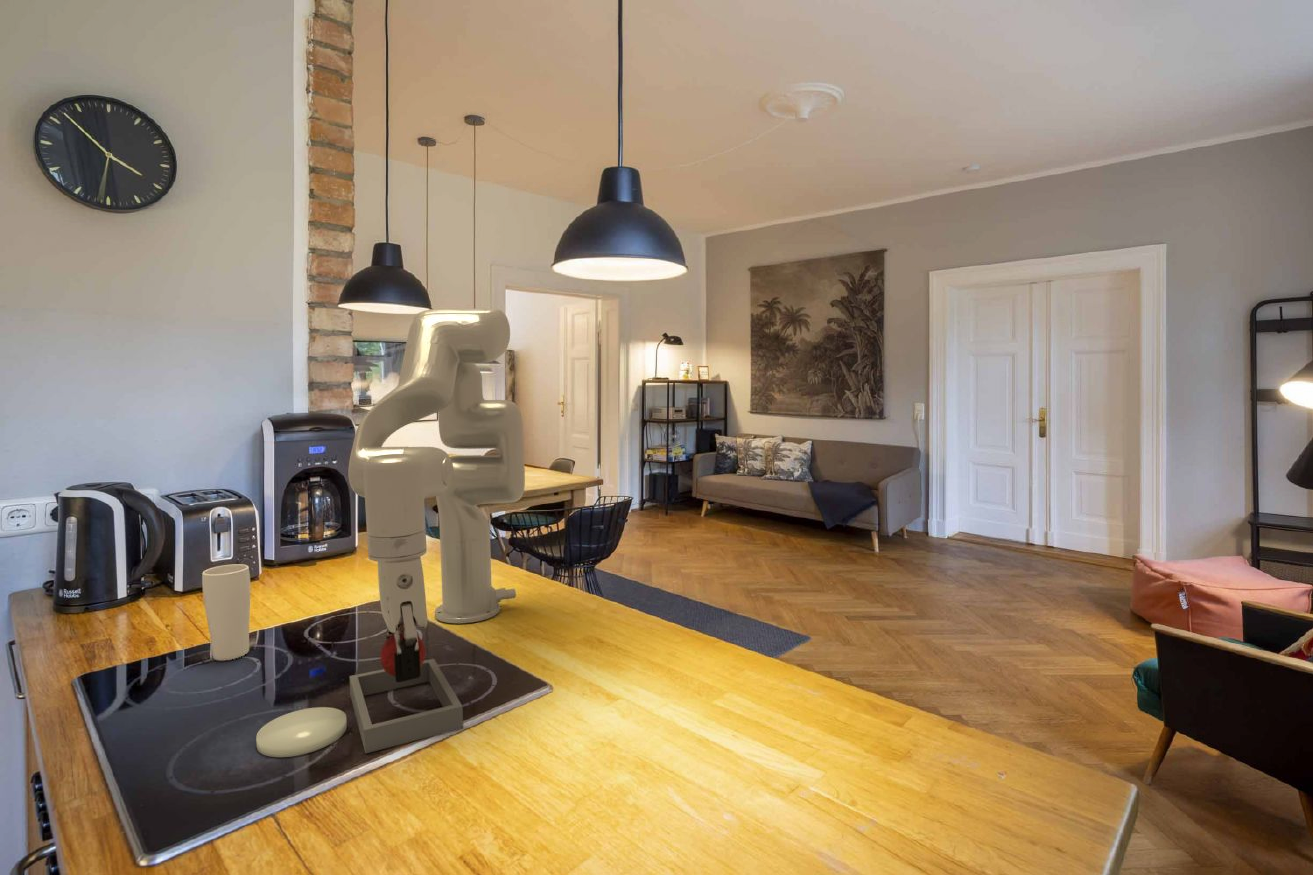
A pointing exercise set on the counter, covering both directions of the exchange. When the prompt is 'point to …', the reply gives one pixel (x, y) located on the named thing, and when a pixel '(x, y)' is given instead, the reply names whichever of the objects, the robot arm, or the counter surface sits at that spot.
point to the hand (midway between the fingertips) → (403, 668)
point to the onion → (390, 649)
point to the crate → (409, 725)
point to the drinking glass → (227, 609)
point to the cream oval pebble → (301, 732)
